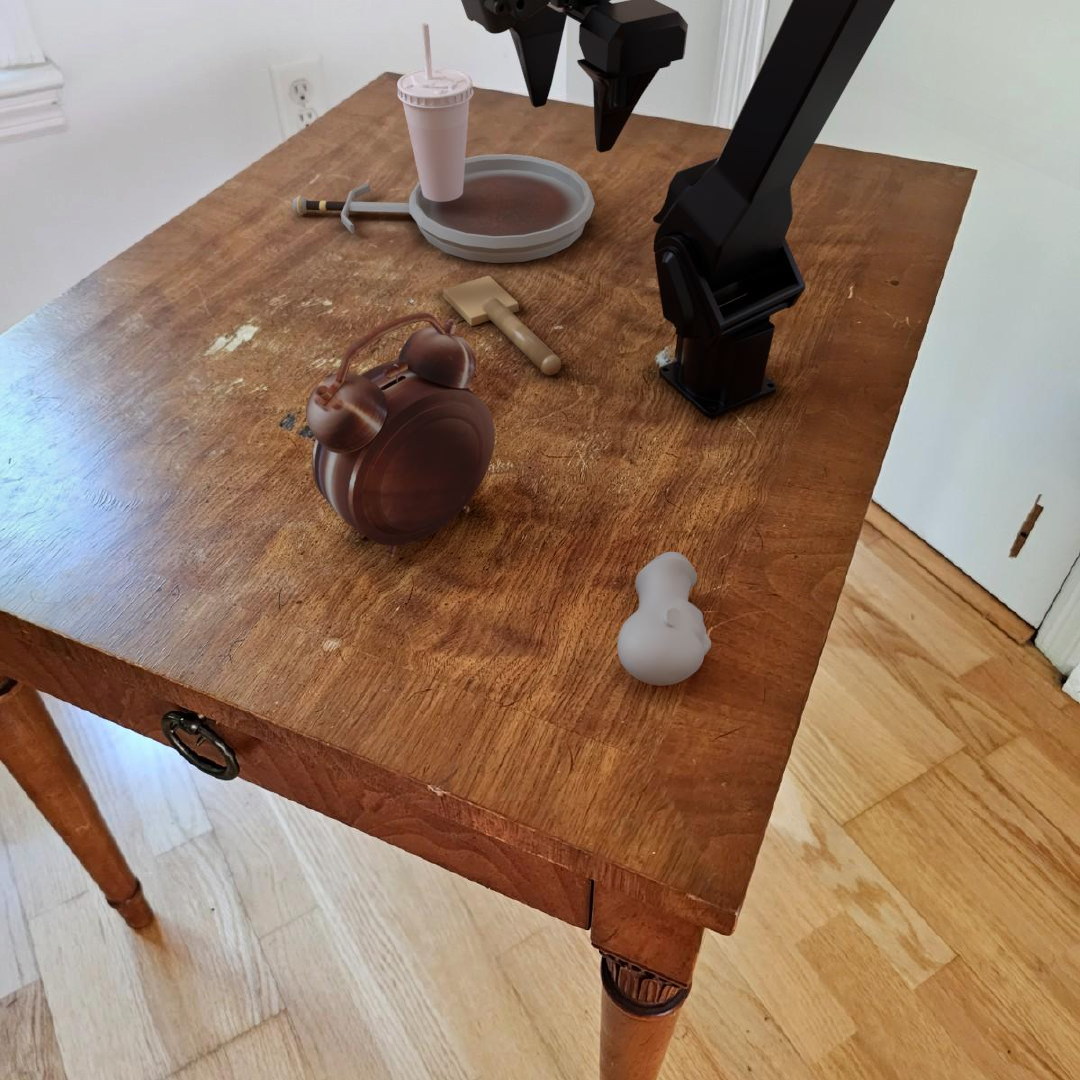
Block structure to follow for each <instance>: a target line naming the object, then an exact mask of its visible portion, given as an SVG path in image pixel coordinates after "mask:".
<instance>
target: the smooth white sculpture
mask: <svg viewBox="0 0 1080 1080" xmlns="http://www.w3.org/2000/svg"><path fill="white" fill-rule="evenodd" d="M697 581H698V573H697V571H696V569H695V568H694V566H693V565H692V563H690V561H689V560H688V558H687V557H686V556H685V555H683V554H682V553H680V552H677V551H667V552H663V553H661V554H659V555H658V556H656V557H654V558H653V559H652V560H650V562H648V563H647V564H646V565H645V566H644V567H643V568H641V570H640V571H639V572H638V573H637V575H636V577H635V581H634V587H635V591H636V593H637V594H638V598H639V600H638V601H639V602H638V608H637V609H636V611H635V612H634V613H632V614H631V615H630V616H629V617H628V618H627V619H626V620H625V622H623V625H622V626H621V628H620V631H619V634H618V636H617V644H616V645H617V655H618V658H619V661H620V663H621V665H622V667H623V668H624V669H625V671H626V672H627V673H628V674H630V676H632V677H633V678H635V679H636V680H638V681H639V682H642V683H645V684H648V685H651V686H652V685H653V686H658V687H659V686H671V685H675V684H678V683H680V682H683V681H685V680H686V679H688V678H690V677H692V675H694V673H696V672H697V671H698V670H699V669H700V667H701V666H702V664H703V661H704V658H705V656H706V654H707V653H708V652H709V651H710V649H711V647H712V641H711V638H710V637H709V635H708V633H707V628H706V625H705V623H704V615H703V612H702V611H701V610H700V609H699V608H698V607H697V606H695V604H693V603H691V602H690V601H689V596H690V590H691V589H693V588H694V587H695V586H696V583H697Z"/></svg>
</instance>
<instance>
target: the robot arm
mask: <svg viewBox="0 0 1080 1080" xmlns="http://www.w3.org/2000/svg"><path fill="white" fill-rule="evenodd" d="M611 1H612V0H460V2H461V4H462V7H463V10H464V12H465V13H464V14H465V15H466V18H467V19H468V20H469V21H470V22H476V23H477V24H478V25H480V26H482V27H483V28H484V30H485V31H486V32H488V33H490V34H493V35H495V34H496V35H497V34H501V33H504V32H507V31H509V33H510V36H511V40H512V42H513V45H514V48H515V51H516V55H517V58H518V62H519V65H520V69H521V72H522V75H523V79H524V82H525V86H526V90H527V93H528V97H529V100H530V103H531V106H532V107H533V108H540V107H544V106H546V104H547V102H548V99H549V95H550V92H551V88H552V85H553V80H554V75H555V71H556V67H557V62H558V59H559V54H560V49H561V44H562V40H563V35H564V31H565V28H566V23H567V18H568V17H569V18H571V19H572V20H574V21H576V22H577V23H579V27H578V29H579V30H578V45H579V47H580V51H581V53H582V56H583V58H580V59H577V60H576V62H577V65H578V66H579V67H580V68H581V69H582V70H583V72H585V73H586V74H587V76H588V77H589V78H590V79H591V81H592V91H593V92H592V93H593V121H594V122H593V123H594V138H595V149H596V151H597V152H599V153H605V152H609V151H611V150H612V149H613V147H614V145H615V144H616V142H617V140H618V138H619V137H620V135H621V133H622V131H623V130H624V128H625V126H626V124H627V123H628V121H629V118H630V117H631V115H632V113H633V112H634V110H635V109H636V106H637V105H638V102H639V101H640V100H641V97H642V96H643V94H645V91H646V90H647V88H648V87H649V86H650V84H651V82H652V81H653V79H654V78H655V76H657V74H658V73H659V71H660V69H661V70H662V69H666V68H669V67H670V66H671V64H672V62H676V61H680V60H684V58H685V54H686V47H687V37H688V27H689V24H688V23H687V21H686V20H685V18H684V17H683V15H682V14H681V13H680V12H679V11H678V10H676V9H674V8H672V7H670V6H668V5H666V4H664V3H661V2H660V1H658V0H624V1H617V2H611ZM895 1H896V0H792V1H791V3H790V4H789V6H788V8H787V11H786V13H785V15H784V17H783V19H782V22H781V24H780V26H779V27H778V30H777V33H776V34H775V37H774V39H773V40H772V43H771V45H770V47H769V49H768V51H767V54H766V56H765V58H764V60H763V62H762V64H761V67H760V69H759V71H758V73H757V75H756V77H755V79H754V82H753V84H752V85H751V88H750V90H749V93H748V94H747V96H746V99H745V101H744V103H743V105H742V107H741V109H740V111H739V114H738V116H737V118H736V120H735V122H734V123H733V126H732V128H731V130H730V133H729V134H728V137H727V139H726V141H725V144H724V146H723V147H722V150H721V152H720V154H719V156H716V157H714V158H711V159H709V160H706V161H703V162H700V163H697V164H695V165H692V166H690V167H687V168H683V169H682V170H679V171H677V172H675V174H674V176H673V177H672V179H671V181H670V183H669V185H668V188H667V192H666V196H665V199H664V203H663V205H662V207H661V208H660V210H659V212H657V213H656V214H655V215H654V216H653V217H652V221H653V223H656V224H658V226H657V228H656V230H655V234H654V237H653V248H652V249H653V250H652V251H653V252H654V263H655V271H656V276H657V283H658V290H659V296H660V304H661V309H662V310H661V311H662V317H663V318H664V319H665V320H666V321H668V322H669V323H671V324H672V325H673V327H674V328H675V335H676V342H675V349H674V359H675V361H672V362H670V363H667V364H664V365H662V366H660V367H659V369H658V376H659V377H660V378H661V379H662V380H664V382H666V383H667V384H668V385H669V386H671V388H672V389H674V390H675V391H676V392H677V393H678V394H679V395H681V397H683V398H684V399H685V400H686V401H688V403H690V404H691V405H692V406H693V407H694V408H696V409H697V411H699V413H701V414H702V415H704V417H706V418H707V419H714V418H716V417H717V418H718V417H720V416H723V415H725V414H727V413H730V412H732V411H735V410H737V409H739V408H741V407H744V406H747V405H749V404H752V403H754V402H756V401H760V400H761V399H764V398H766V397H769V396H771V395H775V393H777V389H778V384H777V383H776V382H775V381H774V380H772V379H771V378H769V377H768V376H767V375H766V370H767V366H768V362H769V358H770V357H769V356H770V352H771V347H772V344H773V343H772V342H773V338H774V333H775V328H776V326H775V324H774V323H772V322H771V321H770V318H771V316H773V315H775V314H777V313H779V312H781V311H783V310H786V309H791V308H793V307H795V305H796V304H797V302H798V301H799V299H800V298H801V297H802V294H803V293H804V291H806V282H805V280H804V278H803V276H802V274H801V271H800V269H799V267H798V265H797V264H798V263H797V262H796V259H795V257H794V255H793V253H792V251H791V248H790V245H789V244H788V241H787V239H786V236H787V234H788V231H789V228H790V226H791V223H792V220H793V216H794V209H793V199H792V198H793V197H792V185H793V182H794V180H795V178H796V176H797V175H798V172H799V171H800V169H801V168H802V165H804V162H805V160H806V159H807V157H808V155H809V153H810V151H811V149H812V148H813V146H814V144H815V143H816V141H817V139H818V137H819V136H820V134H821V132H822V130H823V128H824V126H825V125H826V123H827V121H829V118H830V116H831V114H832V113H833V111H834V109H835V108H836V105H837V104H838V102H839V101H840V99H841V98H842V97H841V96H842V95H843V93H844V92H845V90H846V88H847V86H848V85H849V83H850V81H851V79H852V77H853V75H854V74H855V72H856V70H857V68H858V67H859V65H860V63H861V62H862V60H863V58H864V57H865V54H866V53H867V51H868V49H869V47H870V46H871V44H872V42H873V40H874V39H875V37H876V35H877V33H878V31H879V29H880V28H881V27H882V25H883V23H884V21H885V20H886V17H887V15H888V14H889V12H890V10H891V8H892V6H893V5H894V3H895Z"/></svg>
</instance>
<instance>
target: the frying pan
mask: <svg viewBox="0 0 1080 1080" xmlns="http://www.w3.org/2000/svg"><path fill="white" fill-rule="evenodd" d="M369 192H371V184H370V182H369V181H368V182H366V183H364V184H362V185H361V184H360V186H357V187H355V188H354V189H352V190H350V191H349V193H348V195H347V198H346V200H345V201H337V200H336V201H332V200H331V201H330V200H308V199H307V198H306V197H304V196H303V195H298V196H296V197H295V198H294V199H293V200H292V209H293V210H294V211H295V213H297V214H299V215H300V216H303V214H306V213H308V211H321V212H326V211H329V212H331V211H333V212H340V218H341V223H342V224H343V225H344V226H345V227H346V229H348V231H349V232H350V233H351V234H355V232H356V229H355V225H354V224H353V222H352V221H351V220H350V219H349V215H350V213H351V212H352V213H353V212H354V213H355V212H358V213H386V214H387V213H389V214H391V213H392V214H393V213H394V214H410V215H411V217H412V218H413V220H414V221H415V223H416V225H417V226H418V228H419V231H420V232H421V234H422V235H423V236H424V238H425V239H426V240H427V242H428V243H429V244H431V245H432V246H434V247H436V248H437V249H439V250H440V251H442V252H443V253H445V254H448V255H451V256H455V257H458V258H461V259H465V260H467V261H475V262H483V263H490V264H491V263H492V264H506V263H523V262H528V261H532V260H536V259H542V258H545V257H549V256H551V255H554V254H555V253H558V252H560V251H562V250H565V249H567V248H569V247H570V246H571V245H572V244H573V243H574V242H575V241H577V240H578V239H579V238H580V237H581V236H582V234H583V231H584V228H585V226H586V223H587V222H588V221H589V220H590V219H591V216H592V213H593V210H594V208H595V205H596V203H595V200H594V197H593V192H592V190H591V188H590V186H589V184H588V182H587V181H586V180H585V179H583V177H582V176H580V175H579V174H578V173H577V171H575V170H573V169H572V168H569V167H568V166H567V167H566V166H565V165H563V164H561V163H558V162H557V161H553V160H549V159H544V158H540V157H537V156H532V155H521V154H512V153H511V154H510V153H503V154H502V153H501V154H499V153H498V154H480V155H476V156H470V157H465V170H464V184H463V194H462V195H461V196H460V197H459V198H457V199H455V200H451V201H445V202H438V201H432V200H429V199H427V198H425V197H424V196H423V194H422V189H421V185H420V180H418V182H417V183H416V185H415V187H414V188H413V189H412V192H411V194H410V196H409V198H408V202H381V201H355V200H356V199H358V198H360V197H361V196H363V195H365V194H367V193H369Z"/></svg>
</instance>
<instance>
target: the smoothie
mask: <svg viewBox="0 0 1080 1080" xmlns="http://www.w3.org/2000/svg"><path fill="white" fill-rule="evenodd" d="M421 30H422V31H421V33H422V43H423V46H422V47H423V58H424V68H421V69H416V70H413V71H410V72H408V73H405V74H404V75H402V76H401V77H400V78H399V79H398V80H397V85H396V86H397V97H398V99H399V100H400V101H401V102H402V105H403V109H404V114H405V119H406V123H407V124H406V125H407V128H408V133H409V138H410V142H411V147H412V151H413V156H414V161H415V166H416V170H417V174H418V175H417V176H418V179H419V180H420V185H421V189H422V194H423V196H424V197H425V198H427V199H429V200H432V201H438V202H445V201H451V200H455V199H457V198H459V197H460V196H461V195H462V194H463V184H464V170H465V158H466V153H467V143H468V141H467V138H468V127H469V112H470V100H471V99H472V98H473V95H475V93H474V88H473V87H474V86H473V79H472V77H471V76H470V75H469V74H467V73H465V72H463V71H461V70H458V69H453V68H447V67H446V68H445V67H433V65H432V51H431V39H430V38H431V37H430V23H428V22H424V23H422V24H421ZM419 180H418V181H419Z"/></svg>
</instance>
